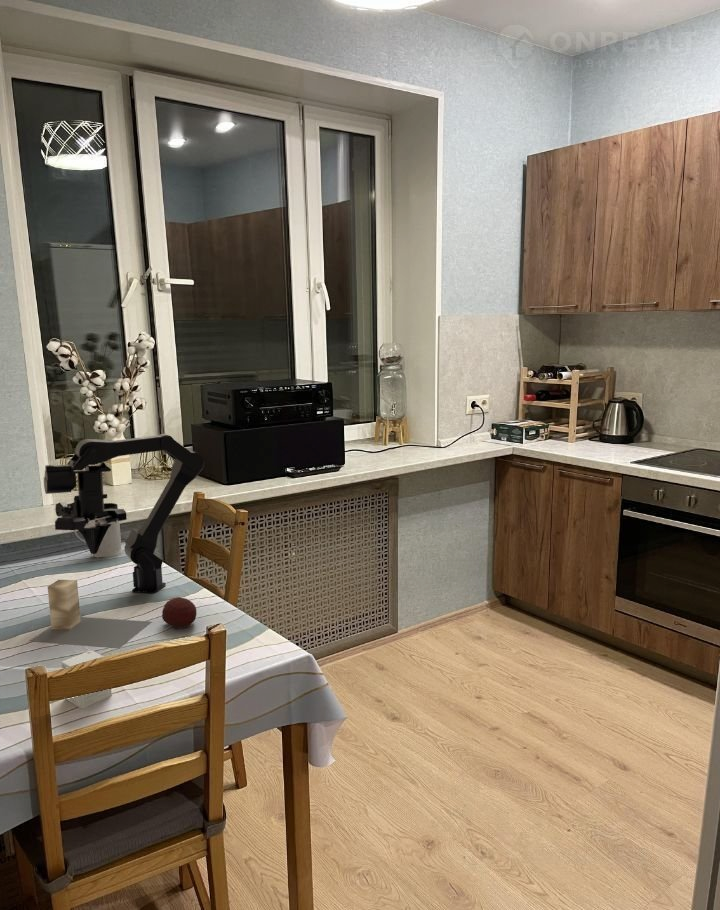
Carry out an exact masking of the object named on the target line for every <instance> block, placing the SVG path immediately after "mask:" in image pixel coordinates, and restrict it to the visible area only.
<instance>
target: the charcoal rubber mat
mask: <svg viewBox="0 0 720 910" xmlns="http://www.w3.org/2000/svg"><path fill="white" fill-rule="evenodd" d="M80 618H81V622H80V623H78V624H77V625H76V626H75V627H73V628H72V629H71V630H65V629H52V628H51V626H50V627H48V628H47V629H45V630H44V631H42V632H41V633H39V634H38V635H36V636H35V637H33V638H32V639H30V640H29V642H33V643H47V644H60V645H73V646H87V647H95V648H96V647H98V648H111V649H112V648H113V649H121V648H122V647H123V646H125V645H126V644H127V643H128V642H129V641H130V640H132V639H133V638H134V637H135V636H137V635H138V634H139V633H140V632H142V631H143V630H145V628H146V627H147V626H149V625H150V624H151V623H152V621H147V620H131V619H118V618H105V617H104V618H101V617H90V616H89V617H87V616H80Z"/></svg>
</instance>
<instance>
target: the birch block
mask: <svg viewBox="0 0 720 910" xmlns="http://www.w3.org/2000/svg"><path fill="white" fill-rule="evenodd" d="M47 595H48V596H47V597H48V605H49V606H48V607H49V615H50V616H49V617H50V627H51V628H52V629H65V630H71V629H72V628H73V627H75V626H76V625H77V624H78V623H80V622H81V618H80V617H81V608H80V598H79V587H78V580H77V579H57V580H55V581H54V582H53V583H50V584H49V585H48V586H47Z"/></svg>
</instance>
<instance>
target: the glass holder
mask: <svg viewBox="0 0 720 910" xmlns="http://www.w3.org/2000/svg"><path fill="white" fill-rule="evenodd" d="M105 509H119V508H118V504H117V503H112V502H104V510H105ZM106 521H107V524H111V526H110V527H109V528H108V530H107V532H106V534H105V536H104V538H103V540H102V542H101V544H100V547H99V549H98V551H97V553H96V554H92V556H93V557H94V556H95V558H98V557H107V558H112V556H113V557H117V556H120V555H122V554H123V553H124V550H123V548H122V539H121V538H122V537H121V527H120V521H118V520H116V519H109V520H106ZM73 532H74V534H75V536H76V537H77V538H78V539H79V541H80V540H81V541H82V542H84V543H85V544H87V543H86V541H85V539H84V538H82V537H80V535H79V534H78V533H77V530H73ZM119 554H120V555H119Z"/></svg>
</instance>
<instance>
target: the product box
mask: <svg viewBox="0 0 720 910" xmlns="http://www.w3.org/2000/svg"><path fill="white" fill-rule="evenodd" d="M100 657H104V656H103V655H102V654H100V653H98V652H95V651H93V650H88V651H86V652H84V653H81V654H77V655H76V656H75V655H74V656H73V657H70V658H68V659H65V660H61V669H62V668H66V667H70V666H73V665H76V664H79V663H82V662H86V661H89V660H92V659H95V658H100ZM112 695H113V694H112V688H111V689H109V690H104V691H99V692H95V693H91V694H87V695H82V696H78V697H74V698H70V699H65V700H66V701H68V702H70V703H72V704H73V705H75V706H76V707H77V708H79V709H85V708H87V707H90V706H92V705H94V704H96V703H99V702H101V701H103V700H105V699H108V698H110V697H111V696H112Z"/></svg>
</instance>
